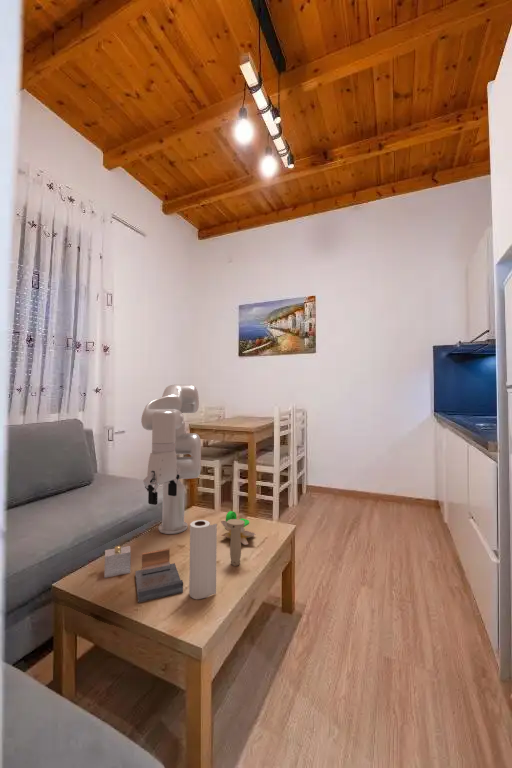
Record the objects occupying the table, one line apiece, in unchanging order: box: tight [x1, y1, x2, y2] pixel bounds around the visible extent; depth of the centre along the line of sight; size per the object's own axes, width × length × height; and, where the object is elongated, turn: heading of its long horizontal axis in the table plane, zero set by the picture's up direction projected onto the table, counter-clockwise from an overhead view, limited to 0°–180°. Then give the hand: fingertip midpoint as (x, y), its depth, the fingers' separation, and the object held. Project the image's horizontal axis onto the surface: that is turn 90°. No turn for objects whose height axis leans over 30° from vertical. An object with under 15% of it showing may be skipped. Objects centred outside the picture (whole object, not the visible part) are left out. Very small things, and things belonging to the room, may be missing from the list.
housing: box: [104, 544, 132, 579], centre depth 112 cm, size 5×8×8 cm, turn 113°
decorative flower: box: [220, 520, 256, 545], centre depth 135 cm, size 15×11×10 cm
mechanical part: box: [225, 510, 250, 528], centre depth 149 cm, size 12×6×8 cm, turn 146°
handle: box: [227, 518, 245, 567], centre depth 117 cm, size 5×6×15 cm
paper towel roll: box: [188, 519, 218, 600], centre depth 99 cm, size 7×6×21 cm
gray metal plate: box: [134, 562, 184, 603], centre depth 105 cm, size 16×13×3 cm
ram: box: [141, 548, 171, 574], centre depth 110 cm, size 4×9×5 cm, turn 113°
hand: (162, 499), depth 108 cm, fingers open, 9 cm apart
